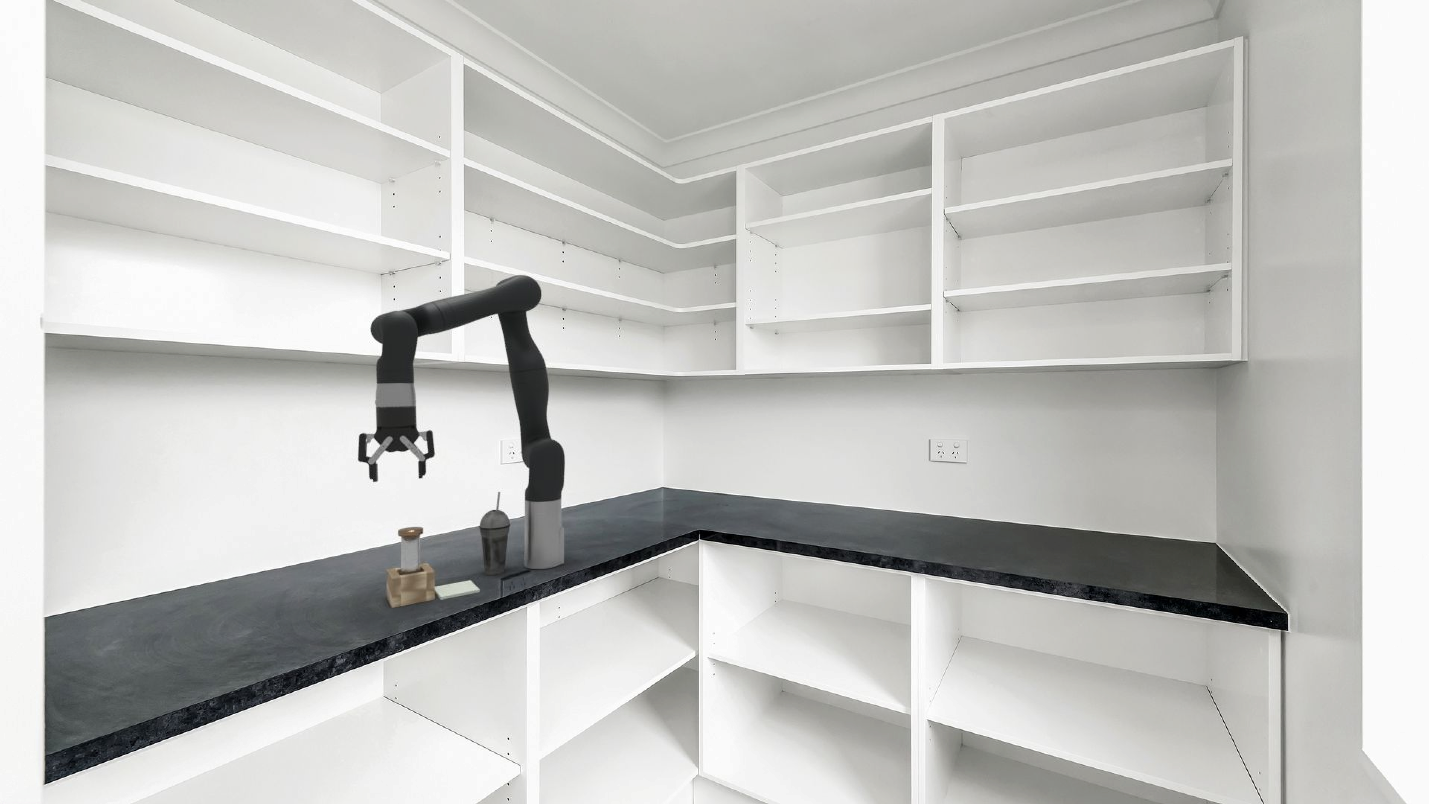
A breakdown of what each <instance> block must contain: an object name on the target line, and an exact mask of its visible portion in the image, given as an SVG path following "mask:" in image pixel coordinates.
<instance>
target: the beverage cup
mask: <svg viewBox="0 0 1429 804" xmlns="http://www.w3.org/2000/svg"><path fill="white" fill-rule="evenodd" d="M500 497H501V491H498V492H497V500H496V509H491V510H488V511H486V513H485V514H483V516H482V518H481V519H480V523H479V527H478V529H479V532H480V536H481V543H482V544H481V545H482V546H481V547H482V558H483V567H484V573H485V575H488V576H493V575H494V576H495V575H496V576H497V575H500V574H503V573H504V572H505V567H506V560H507V552H508V551H507V549H508V537H509V534H510V533H509V532H510V526H511V523H510V519H509V517H508V515H507V514H506V513H505V512H504V511H503V510H501V509H499V507H500Z"/></svg>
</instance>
